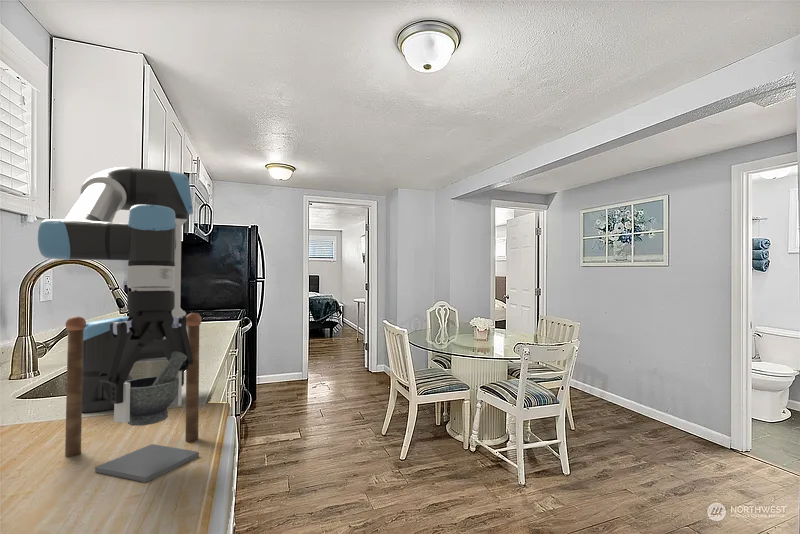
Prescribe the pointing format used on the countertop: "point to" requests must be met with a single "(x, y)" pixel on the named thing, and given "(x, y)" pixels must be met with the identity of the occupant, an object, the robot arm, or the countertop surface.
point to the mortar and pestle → (155, 393)
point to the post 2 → (192, 379)
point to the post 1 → (74, 385)
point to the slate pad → (147, 462)
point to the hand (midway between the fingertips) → (149, 412)
